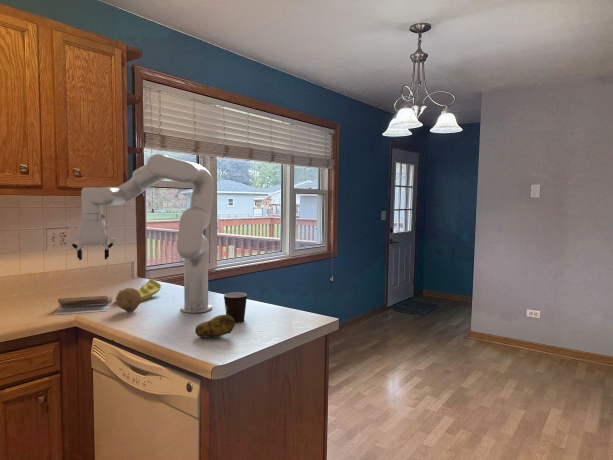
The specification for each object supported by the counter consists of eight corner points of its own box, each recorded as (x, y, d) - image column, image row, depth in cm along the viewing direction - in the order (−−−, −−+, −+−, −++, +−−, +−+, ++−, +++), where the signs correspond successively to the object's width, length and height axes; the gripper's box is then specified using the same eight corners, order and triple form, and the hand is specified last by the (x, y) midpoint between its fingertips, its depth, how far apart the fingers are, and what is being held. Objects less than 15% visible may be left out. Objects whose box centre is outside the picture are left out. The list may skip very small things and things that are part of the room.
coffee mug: (226, 317, 166) (226, 292, 165) (248, 318, 166) (248, 292, 165) (219, 326, 155) (219, 299, 154) (243, 327, 154) (243, 299, 154)
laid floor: (107, 311, 174) (107, 307, 174) (54, 314, 168) (53, 311, 168) (112, 299, 194) (112, 296, 194) (65, 302, 188) (64, 299, 188)
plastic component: (135, 299, 185) (118, 288, 188) (130, 313, 187) (113, 302, 190) (165, 287, 203) (149, 277, 206) (161, 300, 205) (145, 290, 208)
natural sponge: (131, 316, 167) (131, 291, 166) (111, 314, 169) (111, 289, 168) (145, 310, 176) (145, 286, 175) (126, 309, 178) (126, 285, 177)
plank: (107, 298, 178) (107, 295, 179) (57, 301, 172) (58, 298, 173) (109, 303, 185) (109, 300, 186) (61, 306, 179) (62, 303, 180)
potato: (209, 331, 149) (208, 308, 148) (239, 337, 143) (239, 313, 142) (192, 338, 142) (191, 314, 141) (223, 345, 136) (222, 320, 135)
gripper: (116, 217, 183) (117, 257, 184) (70, 217, 177) (71, 258, 178) (114, 218, 175) (115, 259, 177) (66, 218, 170) (68, 261, 171)
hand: (93, 259), depth 178 cm, fingers open, 9 cm apart
